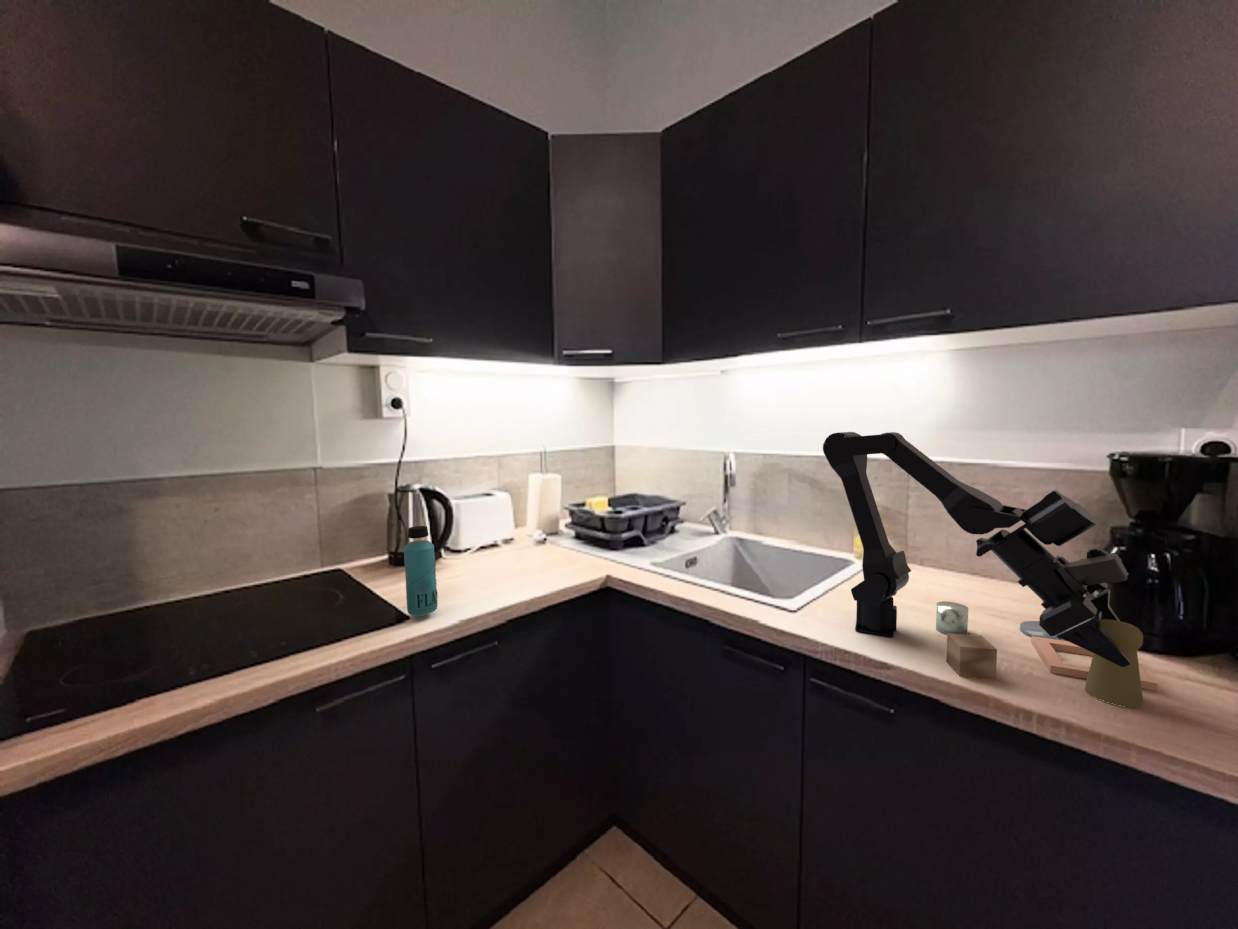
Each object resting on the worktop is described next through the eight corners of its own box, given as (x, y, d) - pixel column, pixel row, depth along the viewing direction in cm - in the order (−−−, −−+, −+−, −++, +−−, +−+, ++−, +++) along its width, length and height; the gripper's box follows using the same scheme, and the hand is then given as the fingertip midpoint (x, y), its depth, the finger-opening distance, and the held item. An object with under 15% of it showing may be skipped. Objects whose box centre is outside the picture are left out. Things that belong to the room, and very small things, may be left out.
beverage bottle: (415, 625, 102) (409, 531, 101) (401, 617, 107) (396, 527, 105) (444, 615, 107) (439, 526, 105) (430, 608, 111) (425, 522, 110)
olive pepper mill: (1082, 680, 75) (1086, 611, 74) (1139, 694, 71) (1144, 621, 70) (1086, 698, 70) (1090, 624, 69) (1147, 713, 66) (1152, 635, 66)
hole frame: (1050, 672, 78) (1050, 665, 77) (1031, 642, 88) (1031, 636, 88) (1156, 691, 72) (1156, 683, 72) (1122, 656, 82) (1122, 649, 82)
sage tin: (937, 634, 92) (937, 608, 92) (934, 624, 97) (935, 599, 96) (969, 639, 90) (970, 612, 90) (965, 629, 94) (966, 603, 94)
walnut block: (959, 676, 77) (960, 646, 77) (946, 661, 82) (947, 633, 82) (995, 680, 76) (997, 649, 76) (980, 664, 81) (981, 635, 80)
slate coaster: (1026, 639, 89) (1026, 635, 89) (1014, 621, 97) (1015, 617, 97) (1092, 649, 85) (1092, 645, 85) (1074, 630, 93) (1075, 626, 93)
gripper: (1074, 544, 66) (1195, 650, 58) (1091, 523, 78) (1192, 609, 71) (999, 587, 72) (1099, 687, 65) (1025, 562, 85) (1112, 644, 77)
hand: (1129, 654), depth 69 cm, fingers open, 9 cm apart
